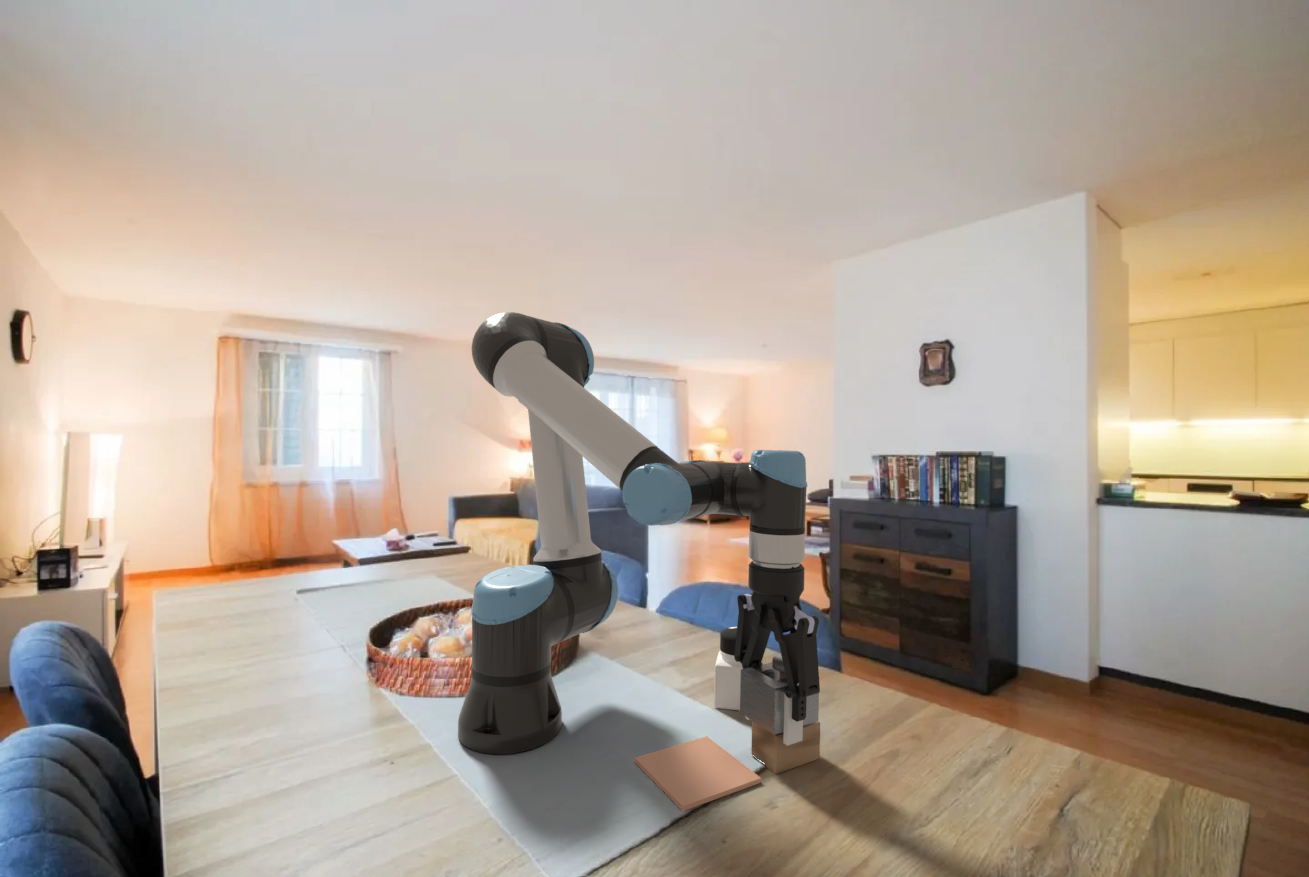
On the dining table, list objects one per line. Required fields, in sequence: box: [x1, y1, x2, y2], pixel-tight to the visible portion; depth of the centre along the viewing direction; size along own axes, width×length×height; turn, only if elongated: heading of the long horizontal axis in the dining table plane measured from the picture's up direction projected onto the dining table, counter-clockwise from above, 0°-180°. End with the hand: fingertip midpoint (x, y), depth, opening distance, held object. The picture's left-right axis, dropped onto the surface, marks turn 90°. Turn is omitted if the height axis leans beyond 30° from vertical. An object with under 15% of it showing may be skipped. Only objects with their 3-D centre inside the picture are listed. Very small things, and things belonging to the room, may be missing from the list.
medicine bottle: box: [713, 626, 745, 712], centre depth 99 cm, size 7×7×12 cm
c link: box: [739, 661, 820, 735], centre depth 81 cm, size 8×7×6 cm
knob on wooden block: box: [750, 654, 821, 775], centre depth 81 cm, size 5×8×14 cm, turn 120°
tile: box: [634, 735, 762, 812], centre depth 77 cm, size 12×12×1 cm
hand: (772, 728), depth 80 cm, fingers closed on c link, 7 cm apart
